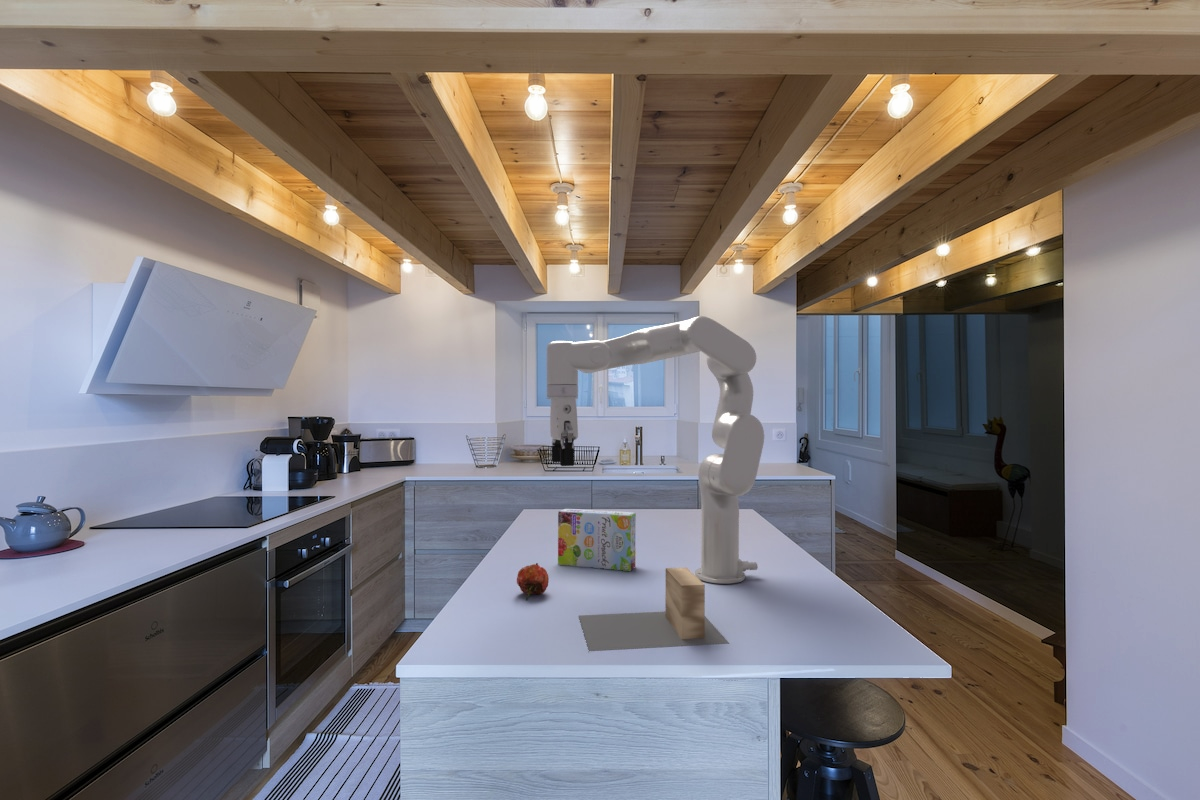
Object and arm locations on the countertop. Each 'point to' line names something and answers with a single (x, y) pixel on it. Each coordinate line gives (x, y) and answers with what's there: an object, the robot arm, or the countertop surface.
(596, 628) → the mat
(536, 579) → the pomegranate
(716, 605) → the countertop surface
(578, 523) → the snack box
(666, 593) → the slab
